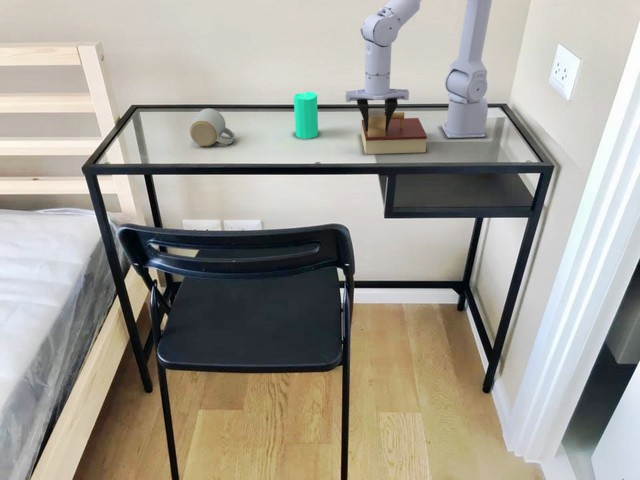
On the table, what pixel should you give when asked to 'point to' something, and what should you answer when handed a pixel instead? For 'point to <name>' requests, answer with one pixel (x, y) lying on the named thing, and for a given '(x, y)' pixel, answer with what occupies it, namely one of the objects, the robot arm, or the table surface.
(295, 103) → the candle
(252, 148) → the table surface
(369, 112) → the block
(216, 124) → the ceramic mug
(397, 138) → the cover
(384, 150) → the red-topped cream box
